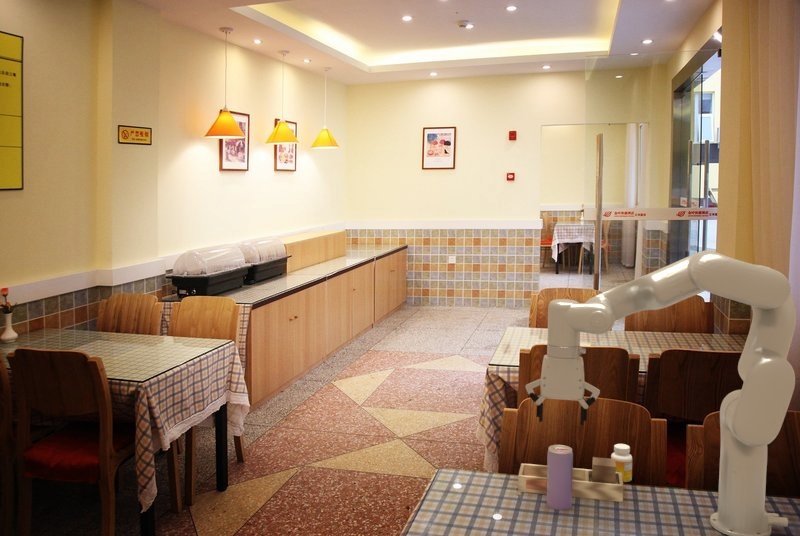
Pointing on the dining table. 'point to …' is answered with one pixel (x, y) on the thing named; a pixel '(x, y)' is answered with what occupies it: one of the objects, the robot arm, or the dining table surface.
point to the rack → (582, 485)
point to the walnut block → (604, 470)
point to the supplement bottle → (623, 461)
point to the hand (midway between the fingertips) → (561, 421)
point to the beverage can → (559, 477)
